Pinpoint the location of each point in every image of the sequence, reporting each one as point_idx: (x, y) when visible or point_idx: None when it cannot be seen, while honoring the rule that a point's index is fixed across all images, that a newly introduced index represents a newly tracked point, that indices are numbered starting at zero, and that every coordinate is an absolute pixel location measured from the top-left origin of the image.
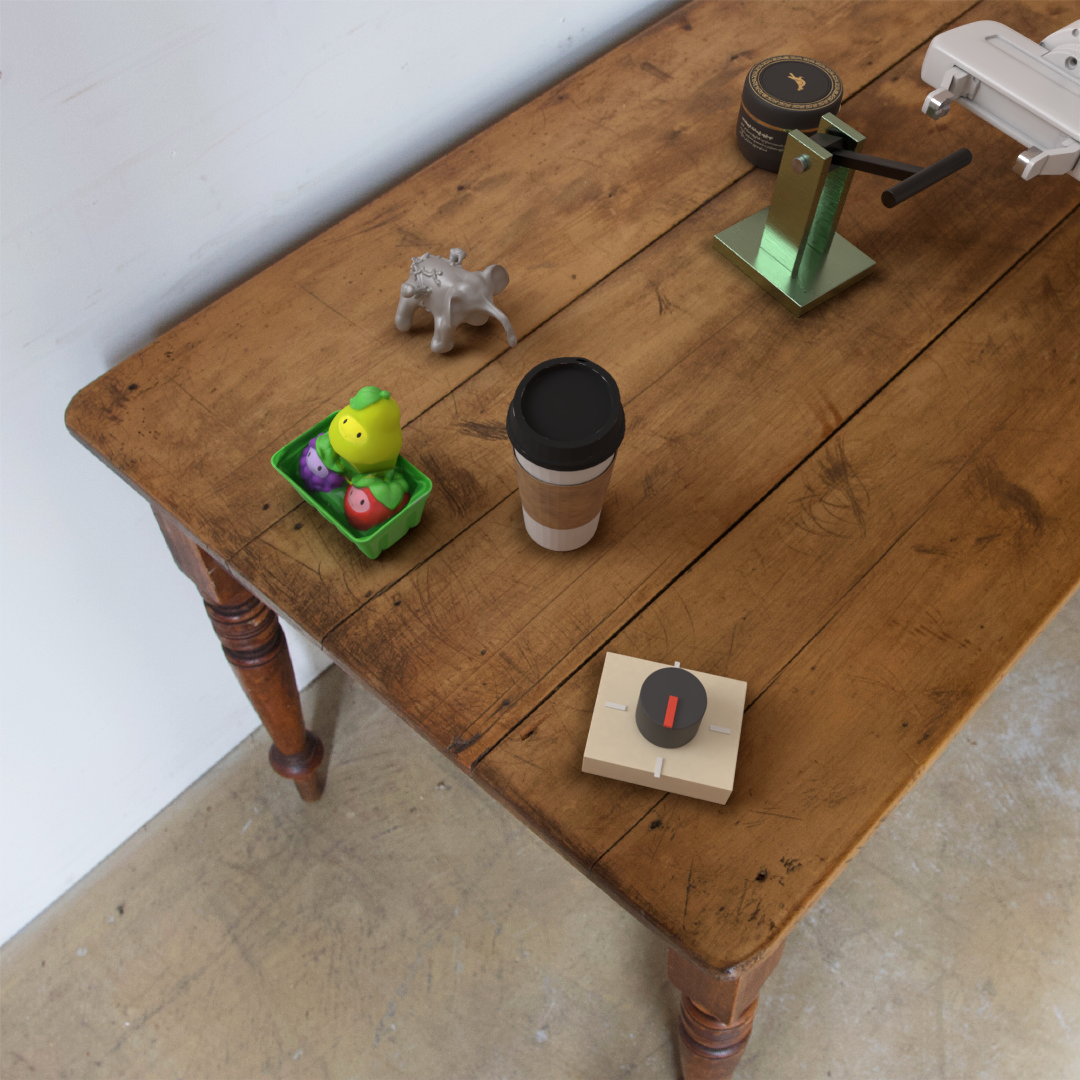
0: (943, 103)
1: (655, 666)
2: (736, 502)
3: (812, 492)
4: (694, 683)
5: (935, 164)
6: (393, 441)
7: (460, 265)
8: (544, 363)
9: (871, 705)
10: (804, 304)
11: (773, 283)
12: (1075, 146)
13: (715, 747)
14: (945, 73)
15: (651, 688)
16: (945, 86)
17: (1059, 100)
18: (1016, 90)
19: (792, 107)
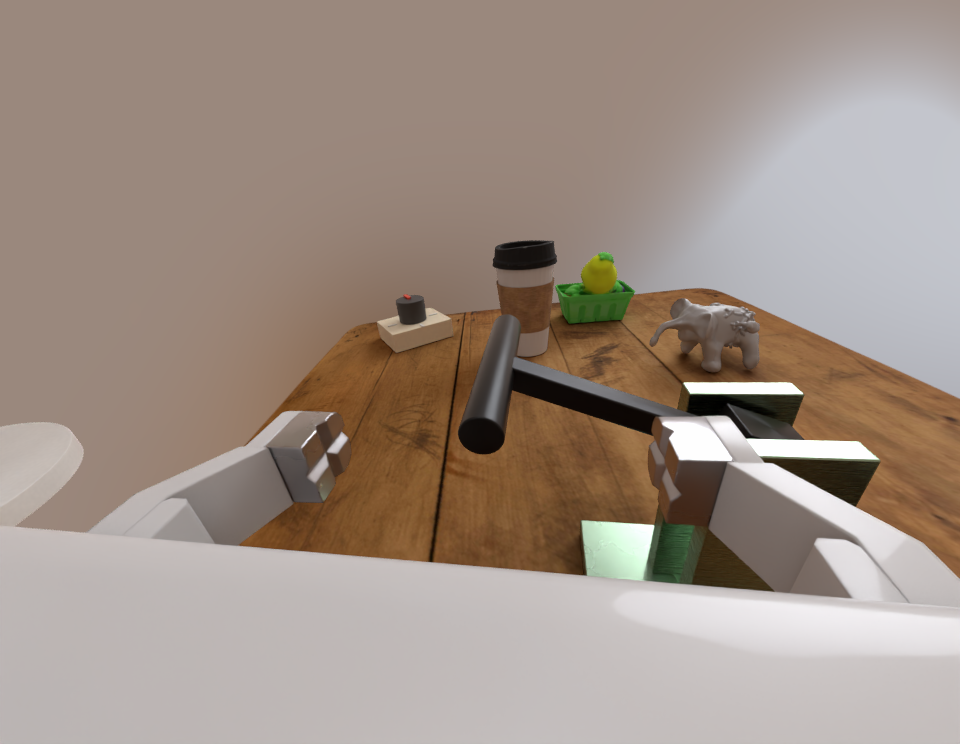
0: (659, 428)
1: (430, 323)
2: (464, 393)
3: (427, 421)
4: (405, 302)
5: (500, 364)
6: (585, 273)
7: (726, 314)
8: (551, 241)
9: (337, 376)
10: (582, 526)
11: (638, 524)
12: (118, 523)
13: (390, 323)
14: (894, 529)
15: (419, 297)
16: (759, 470)
17: (139, 737)
18: (485, 584)
19: None
